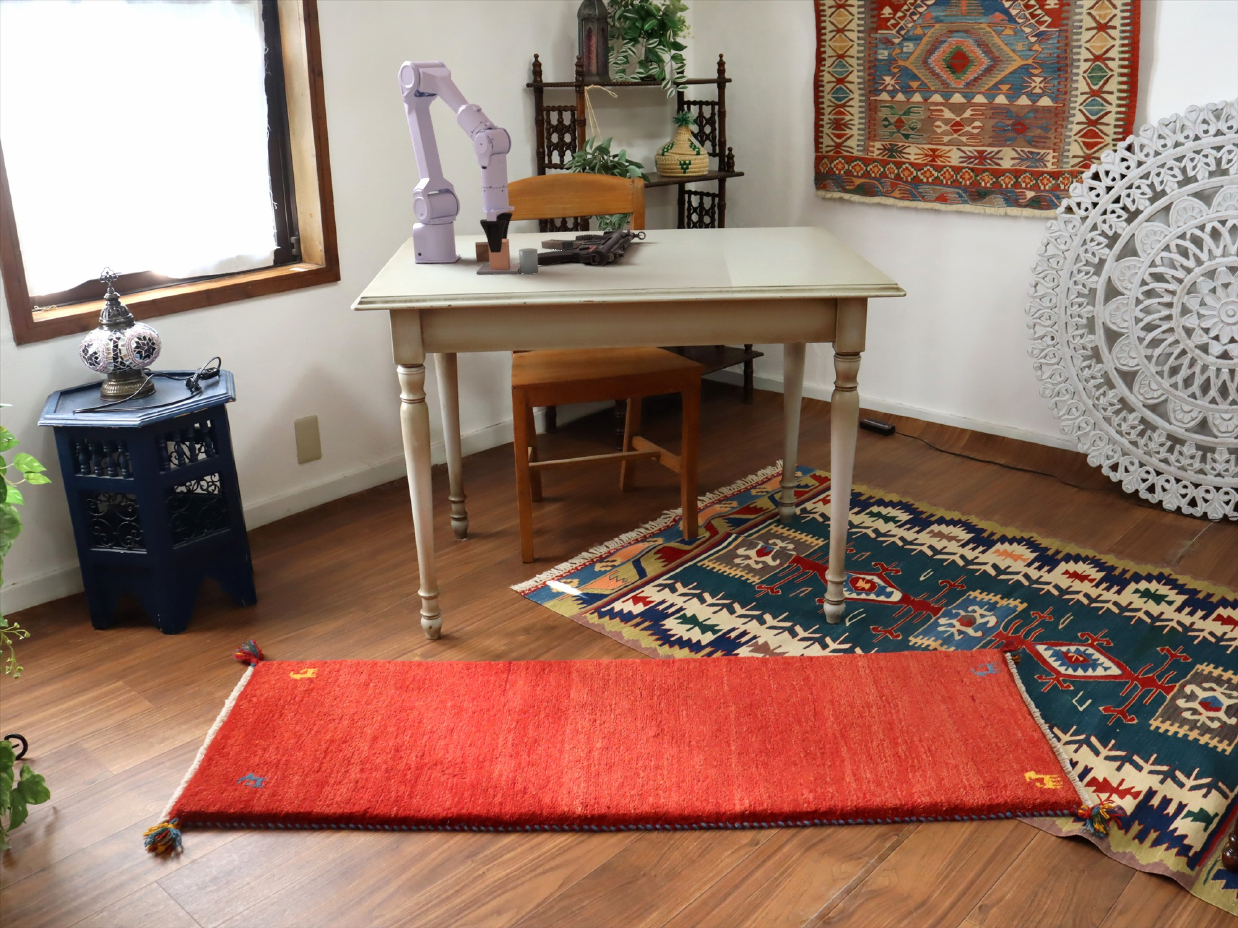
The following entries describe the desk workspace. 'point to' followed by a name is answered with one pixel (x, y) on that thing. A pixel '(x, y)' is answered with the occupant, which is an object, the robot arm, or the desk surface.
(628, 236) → the submachine gun
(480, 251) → the walnut block
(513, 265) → the slate pad
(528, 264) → the grey teal cylinder
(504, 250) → the terracotta block
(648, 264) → the desk surface
